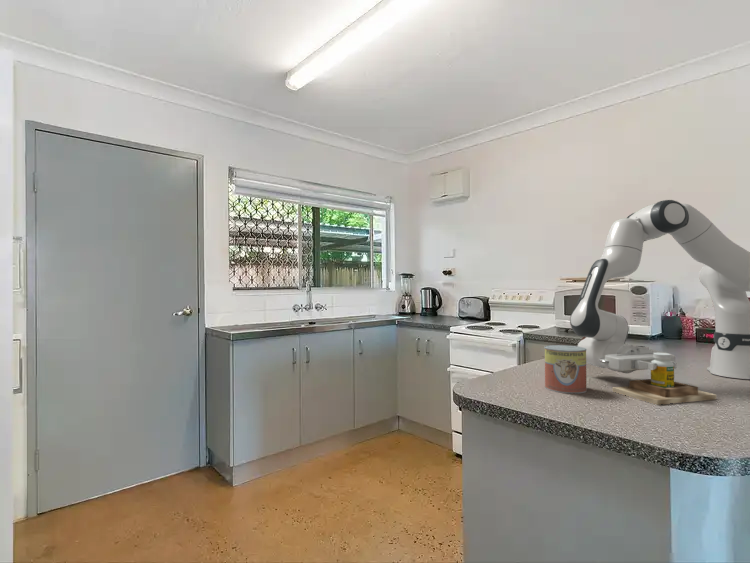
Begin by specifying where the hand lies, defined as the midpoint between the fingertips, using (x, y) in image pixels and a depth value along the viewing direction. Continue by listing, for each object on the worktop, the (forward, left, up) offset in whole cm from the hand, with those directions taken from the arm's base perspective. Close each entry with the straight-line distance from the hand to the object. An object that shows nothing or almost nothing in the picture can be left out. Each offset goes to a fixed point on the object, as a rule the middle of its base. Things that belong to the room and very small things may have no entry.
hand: (665, 366), depth 116 cm
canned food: (+20, -15, -8) cm, 26 cm away
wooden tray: (0, -1, -8) cm, 8 cm away
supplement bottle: (0, -1, -6) cm, 7 cm away
